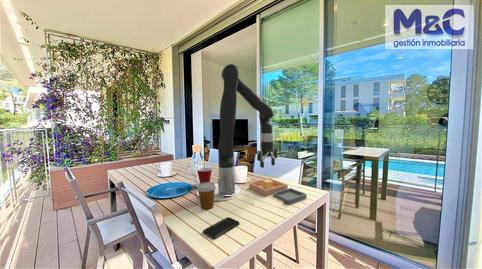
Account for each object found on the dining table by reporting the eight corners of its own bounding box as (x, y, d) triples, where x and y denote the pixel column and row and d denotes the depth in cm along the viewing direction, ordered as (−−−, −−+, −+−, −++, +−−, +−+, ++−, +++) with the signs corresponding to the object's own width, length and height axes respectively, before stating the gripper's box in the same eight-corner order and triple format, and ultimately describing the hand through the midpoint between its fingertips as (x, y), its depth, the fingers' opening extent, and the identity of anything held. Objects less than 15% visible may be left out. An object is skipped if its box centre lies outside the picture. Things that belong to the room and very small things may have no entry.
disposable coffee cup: (209, 201, 113) (208, 180, 112) (220, 206, 106) (219, 184, 105) (194, 207, 106) (193, 185, 105) (204, 213, 99) (203, 189, 98)
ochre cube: (267, 190, 125) (267, 182, 124) (262, 188, 129) (262, 180, 128) (273, 188, 127) (273, 181, 127) (268, 186, 131) (268, 179, 131)
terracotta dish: (266, 197, 116) (266, 190, 116) (249, 188, 131) (248, 182, 130) (287, 190, 125) (287, 184, 125) (269, 183, 140) (269, 177, 139)
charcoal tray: (288, 204, 106) (288, 200, 106) (273, 197, 117) (273, 193, 116) (306, 198, 114) (306, 194, 114) (290, 191, 124) (290, 187, 124)
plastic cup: (214, 183, 143) (214, 166, 142) (211, 188, 132) (210, 170, 131) (199, 183, 144) (199, 166, 143) (194, 188, 134) (194, 170, 132)
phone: (240, 222, 89) (214, 238, 78) (240, 224, 89) (214, 240, 78) (227, 216, 94) (201, 230, 83) (228, 219, 94) (201, 233, 83)
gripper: (271, 138, 132) (272, 163, 134) (254, 141, 124) (254, 167, 126) (279, 139, 126) (280, 165, 127) (261, 142, 118) (262, 169, 120)
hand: (267, 166), depth 127 cm, fingers open, 8 cm apart
